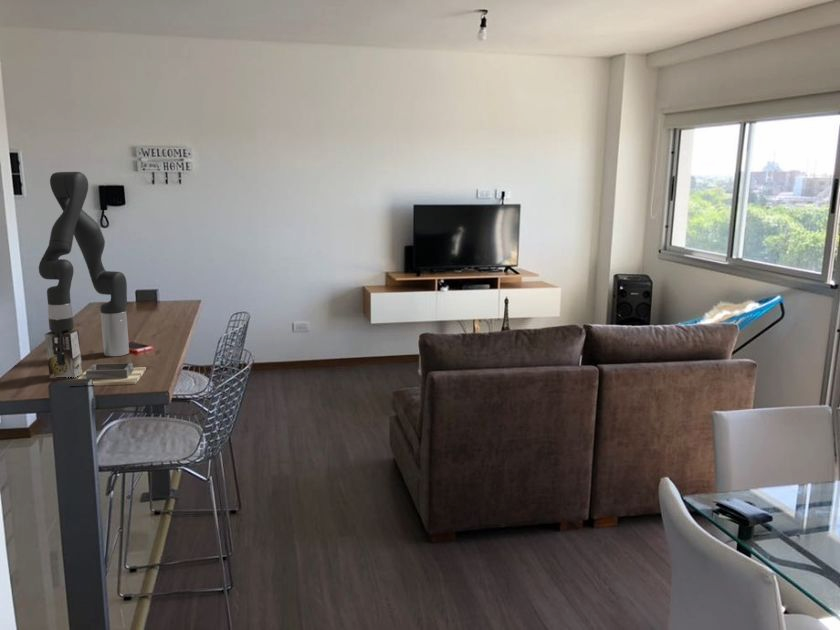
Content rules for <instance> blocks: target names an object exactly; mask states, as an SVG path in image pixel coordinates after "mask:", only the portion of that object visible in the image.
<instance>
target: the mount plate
mask: <svg viewBox="0 0 840 630" xmlns="http://www.w3.org/2000/svg"><path fill="white" fill-rule="evenodd" d="M146 370H147V367H146V366H144V367H143V366H142V367H141V366H140V367H134V363H133V362H114V363H111V362H110V363H107V362H105V363H93V364H92V365H91V366H90V367H89V368H88V369H85V371H84V372H83V374H81V375H79V376H78V377H77V379H92V380H93V385H94V386H95V387H97V386H98V387H100V386H119V385H120V386H121V385H122V386H124V385H136V384H137V383H138V382H139V380H140V379H141V377H142V376H143V375H144V373H145V372H146ZM94 386H93V387H94Z"/></svg>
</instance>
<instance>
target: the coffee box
mask: <svg viewBox="0 0 840 630" xmlns="http://www.w3.org/2000/svg"><path fill="white" fill-rule="evenodd" d="M79 334H80V333H79V329H71V330H68V331H66V332H64V333H63V334H62V335H63V340H62V342H61V344H62V345H65V348H64V357H65V364H64V365H58V363H57V355H56V354H54V352H53V343H52V338H55V335H56V332H55V331H51V330H50V331H49V332H47V333H45V334H44V339H45V350H46V355H47V356H46V357H47V364H48V365H47V366H48V367H47V368H48V375H49V376H50V377H66V378H65V379H76V378H78V377H80V376H81V375H82V374H83V373H84V372H83V364H82V363H83V362H82V353H81V344H80V335H79ZM58 351H60V350H59V349H58ZM77 376H78V377H77ZM50 377H49V378H50ZM68 377H69V378H68ZM70 377H72V378H70ZM73 377H74V378H73ZM75 377H76V378H75Z"/></svg>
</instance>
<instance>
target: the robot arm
mask: <svg viewBox="0 0 840 630" xmlns="http://www.w3.org/2000/svg"><path fill="white" fill-rule="evenodd" d="M49 184H50V189H51V191H52V194H53V195H54V198H55V199H56V201H57V203H58V205H59V206H60V208H61V210H62V213H61V214H60V215H59V217H58V218H57V219H56V220H55V222H54V224H53V225H52V228H51V231H50V236H49V242H48V246H47V248H46V250H45V252H44V253H43V256H42V257H41V259H40V261H39V265H38V273H39V275H40V277H42V279H45V280H50V281H51V280H58V283H57V285H54V286H49V287H48V288H47V290H46V295H47V296H46V297H47V317H48V327H49V330H50V331H55V332H56V335H55V338H52V343H53V352H54V354H56V355H57V363H58V365H64V364H65V357H64V348H65V345H62V344H61V342H62V340H63V335H62V334H63V333H64V332H66V331H68V330H74V314H73V307H72V303H71V301H72V300H71V286H72V281H73V278H74V277H73V276H74V265H73V264H72V262H71V261H69V260H68V259H64V258H63V259H61V257H62V256H65V255H68V254H70V253H71V251H72V248H73V247H72V246H73V240H74V239H75V242H76V243H77V245H78V247H79V249H80V251H81V253H82V257H83V259H84V261H85V264H86V267H87V270H88V273H89V276H90V281H91V283H92V286H93V289H94V290H95V291H96V292H97V293H98V294H100V295H108V296H110V300H109V301H108V302H106V303H103V304H101V305H100V307H99V308H100V309H99V311H100V319H101V320H100V322H101V333H102V335H101V336H102V345H103V346H102V347H103V355H104V356H106V357H121V356H125V355H127V354H129V353H130V347H129V333H128V332H129V331H128V330H129V329H128V319H127V318H128V317H127V304H128V294H127V293H128V286H127V285H128V284H127V278H126V276H125V274H124V273H123V272H122V271H115V270H113V271H111V270H110V271H108V270H106V269H105V268H104V265H103V262H102V256H103V252H104V250H105V244H106V242H105V241H106V240H105V237H104V234H103V232H102V230H101V227H100V225H99V224H98V223H97V222H96V220H94V218H92V216H91V215H89V214H88V213H87V212H86V211H84V209H83V207H84V203H85V201H86V198H87V196H88V192H89V181H88V178H87V175H85V174H84V173H83V172H80V171H58V172H54V173H52V174H50V178H49ZM58 349H59V350H60V351H58Z"/></svg>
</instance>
